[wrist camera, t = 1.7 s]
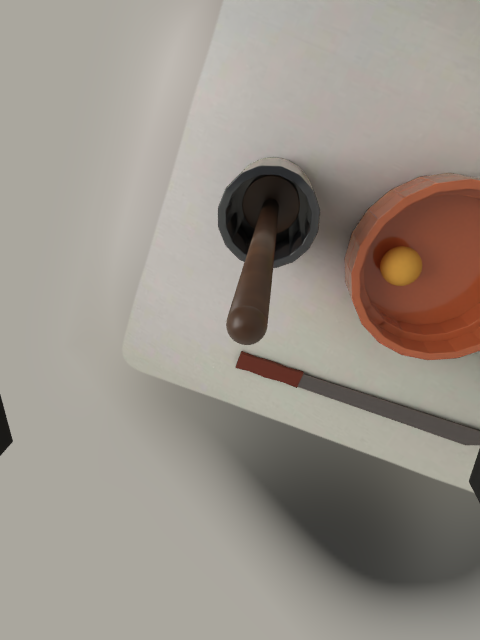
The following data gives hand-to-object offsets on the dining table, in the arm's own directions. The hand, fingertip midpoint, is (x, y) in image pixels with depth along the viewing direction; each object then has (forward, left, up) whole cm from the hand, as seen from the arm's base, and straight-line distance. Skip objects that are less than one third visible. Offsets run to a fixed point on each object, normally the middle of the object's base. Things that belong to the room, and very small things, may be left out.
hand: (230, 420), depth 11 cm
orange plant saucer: (+16, +8, -36) cm, 40 cm away
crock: (0, 0, -36) cm, 36 cm away
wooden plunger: (0, 0, -35) cm, 35 cm away
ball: (+13, +6, -33) cm, 36 cm away
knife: (+27, -7, -36) cm, 46 cm away
